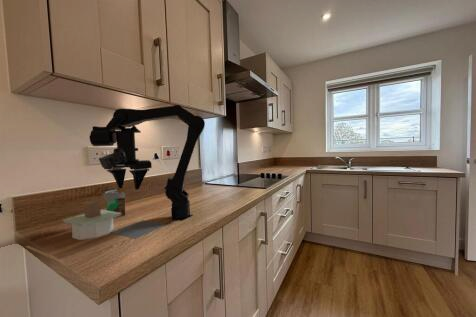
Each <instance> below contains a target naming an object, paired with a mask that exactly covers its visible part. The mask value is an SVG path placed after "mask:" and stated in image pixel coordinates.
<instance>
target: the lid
mask: <svg viewBox="0 0 476 317" xmlns="http://www.w3.org/2000/svg"><path fill="white" fill-rule="evenodd" d="M83 205H84V206H83V207H84V208H83V209H84V213H83V214H79V215H75V216H70V217H67V218H63V219H62V222H63V223H66V224H69V225H72V224H73V225H77V226H81V227H84V226H87V225H91V224H94V223H97V222H100V221H104V220H107V219H110V218H113V217H114V218H118V217H117V216H119V217H121V216H120V215H121V213H119V212H113V211H107V209H101V201H99V200H91V201H87V202H84V204H83ZM114 218H113V219H114Z"/></svg>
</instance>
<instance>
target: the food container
mask: <svg viewBox="0 0 476 317" xmlns="http://www.w3.org/2000/svg"><path fill="white" fill-rule="evenodd" d="M103 199H104V200H105V206H106V210H107V211H113V212H119V213H121V215H120V216H117V217H116V218H119V217H124V216H126V193H125V192H124V191H123V192H121V191H118V188H117V189H112V190H107V191H105V192H104V194H103ZM114 218H115V217H113V219H114Z"/></svg>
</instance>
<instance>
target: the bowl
mask: <svg viewBox="0 0 476 317" xmlns="http://www.w3.org/2000/svg"><path fill="white" fill-rule="evenodd" d="M113 230H114V218H110V219H107V220H104V221H100V222H97V223H94V224H91V225H87V226H84V227H81V226H77V225H73V224H71V234H72V236H71V237H72V238H73V239H75V240H78V241H82V240H89V239H97V238H99V237H101V236H105V235H107V234H109V233H110V232H113Z"/></svg>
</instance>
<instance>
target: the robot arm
mask: <svg viewBox="0 0 476 317" xmlns="http://www.w3.org/2000/svg"><path fill="white" fill-rule="evenodd" d="M174 118H178V119H179V120H180V121H182V122H183V123H184V124H186V125H187V126H188V127H187V134H186V140H185V143H184V146H183V149H182V152H181V155H180V158H179V160H178V164H177V167H176V169H175V173H174V175H173V177H172V176H169V177H168V178H167V180H166V185H165V187H164V190H165V196H166V197H167V199H168V200H170V202H171V209H170V211H171V212H170V213H171V217H169V218H168V219H169V220H175V221H181V222H182V221H186V219H190V218H191V217H193V216H194V215H193V214H191V209H190V208H191V207H190V205H191V204H190V199H189V196H190V194H189V193H188V192H187V191H186V190H185V189H184V186H185V185H184V184H185V177H186V173H187V170H188V168H189V164H190V163H191V159H192V155H193V153H194V149H195V147H196V143H197V142H198V140H199V138H200V136H201V135H202V133H203V131H204V129H205V126H206V125H205V123H206V122H205V120H204V118H202V116H200V115H195V114H193V113H191V111H188V110H187V109H185V108H184V107H183V106H182V105H179V104H174V105H170V106H162V107H155V108H148V109H147V108H146V109H145V108H144V109H137V108H136V109H133V108H121V107H120V108H118V109H115V111H114V112H113V114H112V117H111V119H110V121H109V122H108V123H107V124H106V125H105V126H96V125H95V126H92V130H91V131H90V133H89V141H90V144H91V145H92V146H93V147H112V146H114V145H115V144H116V148H113V152H112V153H109V154H107V155H103V156H102V157H99V158H98V161H99V163H100V165H101V167H102V168H103V170H106V172H108V173H110V174H111V175H112V177H114V178H113V179H114V180H115V182H116V185H117V187H118V189H122V188H123V187H124V183H125V176H126V172H127V168H129V169H130V170H129V172H130V174H131V175H132V177H133V179H132V180H133V184H134V189H135V190H139V189H140V187H141V185H142V183H143V180H145V179H144V178H145V176H147V173H148V172H149V171H150V169H152V162H151V161H150V160H149V159H147V160H142V159H141V160H139V158H138V159H137V157H136V156H137V154H136V152H138V151H139V148H138V147H136V137H135V134H138V133H139V134H141V133H142V132H141V130H139V128H137V126H138V125H140V124H143V123H145V122H152V121H158V120H165V119H174Z"/></svg>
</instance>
